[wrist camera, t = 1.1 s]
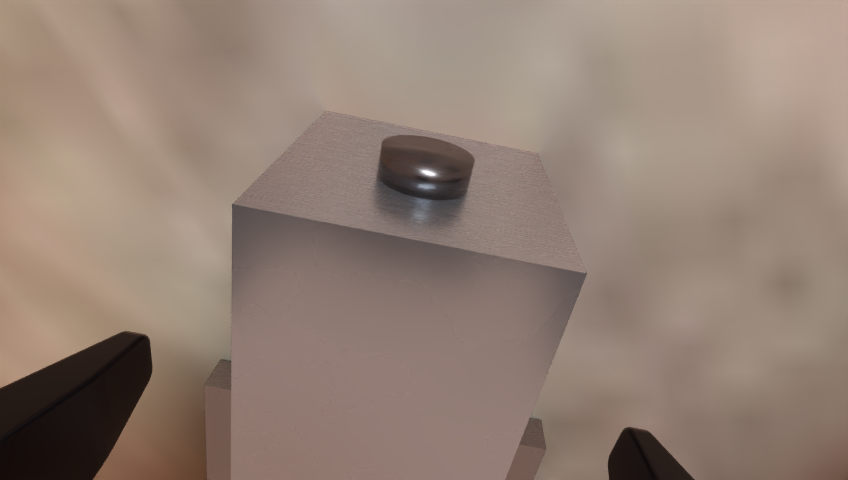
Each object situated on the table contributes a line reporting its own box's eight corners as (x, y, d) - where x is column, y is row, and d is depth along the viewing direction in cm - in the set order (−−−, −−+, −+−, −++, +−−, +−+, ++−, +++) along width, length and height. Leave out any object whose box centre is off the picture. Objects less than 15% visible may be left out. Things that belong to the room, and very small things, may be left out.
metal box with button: (543, 129, 13) (600, 240, 8) (475, 357, 16) (480, 542, 11) (329, 86, 13) (232, 166, 7) (306, 325, 16) (230, 495, 11)
